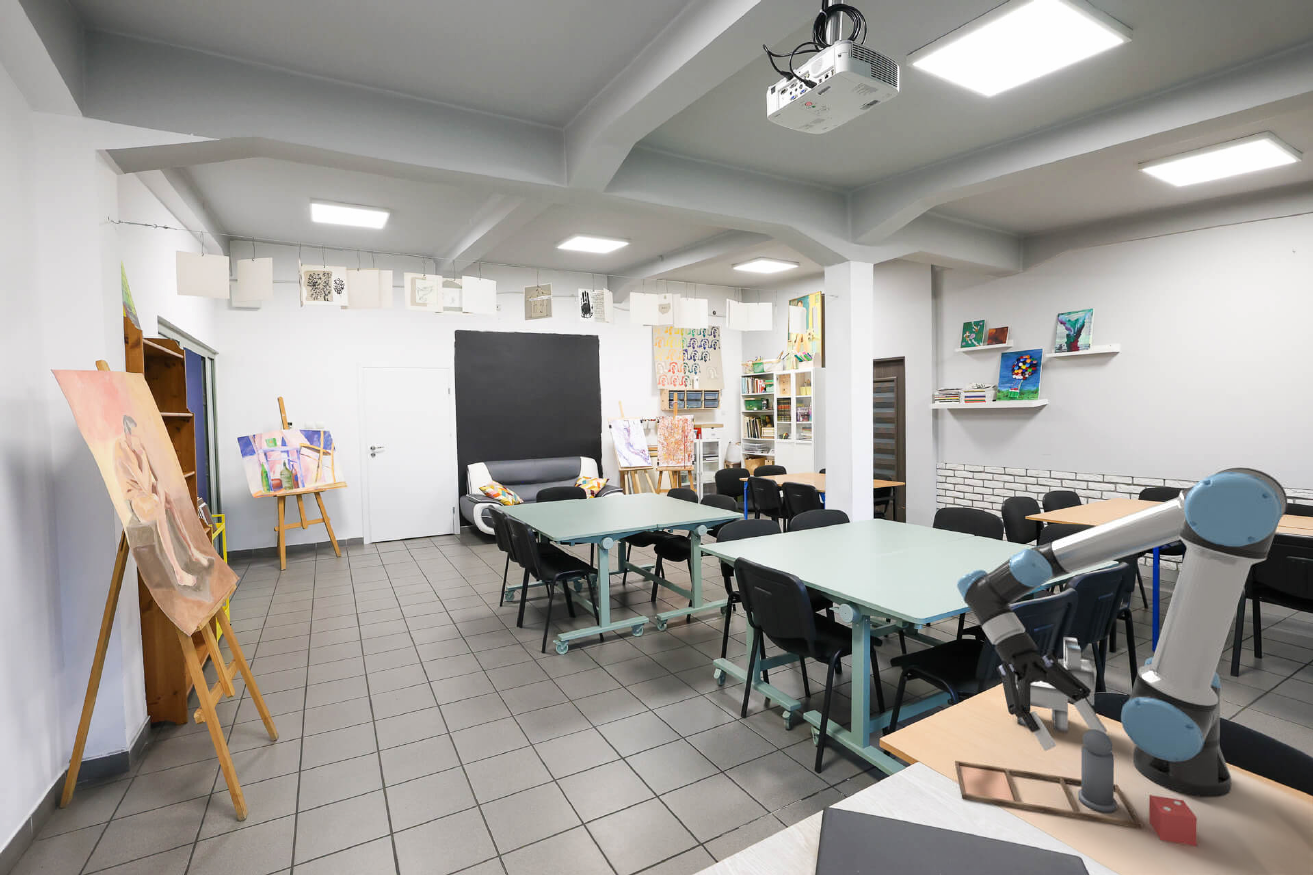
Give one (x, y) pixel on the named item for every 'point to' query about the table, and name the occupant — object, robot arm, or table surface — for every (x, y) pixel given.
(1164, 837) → the red die
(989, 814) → the table surface
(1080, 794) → the pawn
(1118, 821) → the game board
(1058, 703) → the toy llama
